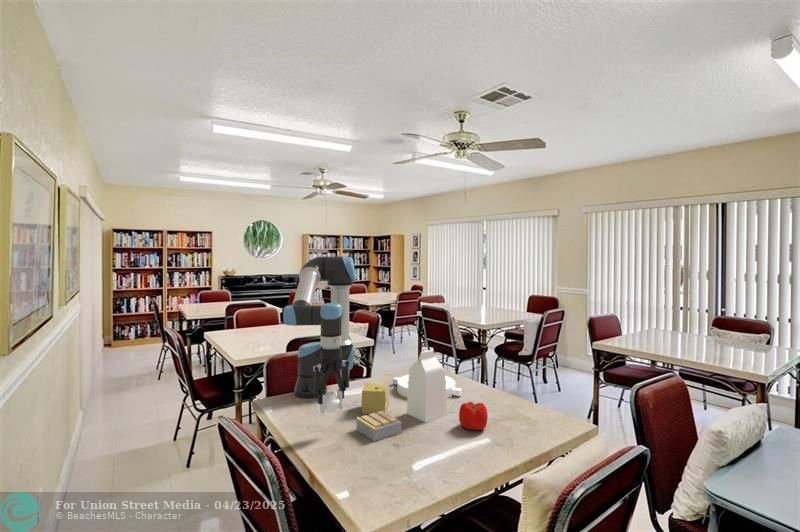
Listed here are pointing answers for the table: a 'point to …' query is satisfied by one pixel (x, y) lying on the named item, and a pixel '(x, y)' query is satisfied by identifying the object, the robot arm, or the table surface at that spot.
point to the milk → (427, 388)
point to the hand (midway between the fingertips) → (331, 409)
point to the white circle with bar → (403, 386)
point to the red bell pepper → (473, 416)
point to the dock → (378, 425)
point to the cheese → (374, 398)
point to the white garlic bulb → (331, 402)
